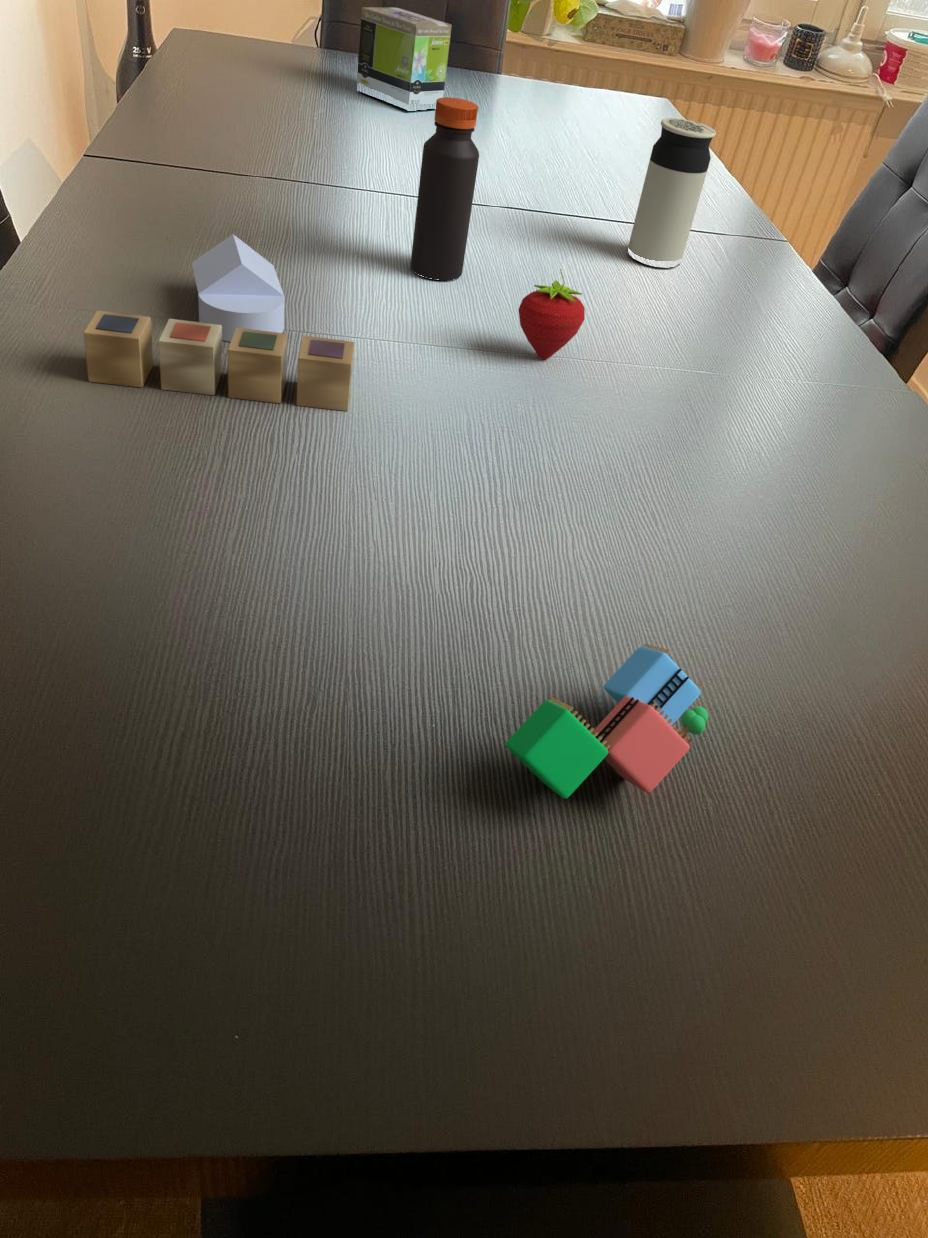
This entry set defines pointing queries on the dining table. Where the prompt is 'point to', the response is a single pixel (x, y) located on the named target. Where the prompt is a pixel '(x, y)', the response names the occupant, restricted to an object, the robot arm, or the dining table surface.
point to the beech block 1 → (118, 349)
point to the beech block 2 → (257, 365)
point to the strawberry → (551, 317)
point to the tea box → (403, 54)
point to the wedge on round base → (238, 289)
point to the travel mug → (671, 190)
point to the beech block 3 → (324, 373)
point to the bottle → (446, 191)
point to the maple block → (190, 356)
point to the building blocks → (616, 728)
